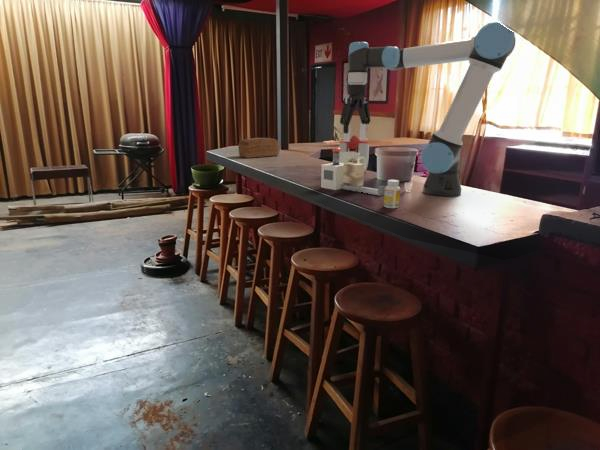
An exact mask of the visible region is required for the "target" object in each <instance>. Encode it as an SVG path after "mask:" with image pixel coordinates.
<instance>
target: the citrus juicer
mask: <svg viewBox="0 0 600 450" xmlns="http://www.w3.org/2000/svg"><path fill="white" fill-rule="evenodd" d="M338 142H339V146H338V148H341V151H340V152H357V153H360V155H359V157H364V158H365V159H366V161H367V167H366V170H365V172H364V175H365V174H366V171H367V169H368V166H369V157H370V143H371V141H369V140H360V138H358V136H357V135H356V134H353V135H352V137H351V136H350V142H345V141H344V139H342V140H338ZM359 162H360V164H364V160H360V161H359Z"/></svg>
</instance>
